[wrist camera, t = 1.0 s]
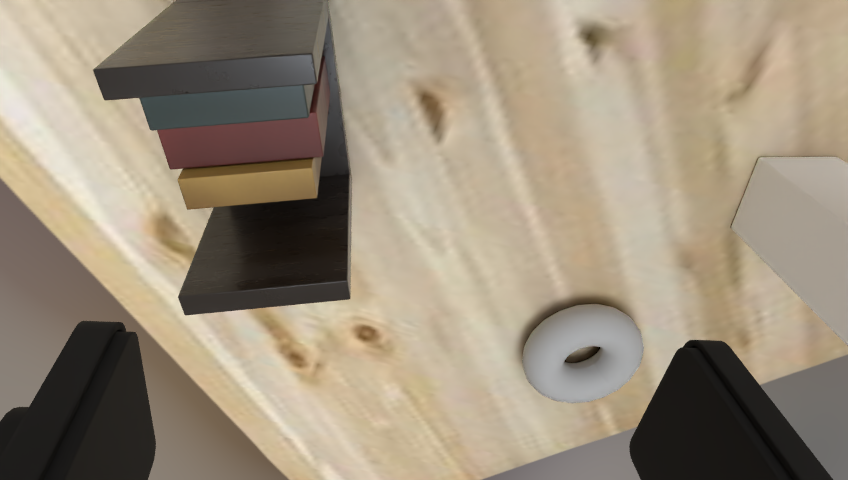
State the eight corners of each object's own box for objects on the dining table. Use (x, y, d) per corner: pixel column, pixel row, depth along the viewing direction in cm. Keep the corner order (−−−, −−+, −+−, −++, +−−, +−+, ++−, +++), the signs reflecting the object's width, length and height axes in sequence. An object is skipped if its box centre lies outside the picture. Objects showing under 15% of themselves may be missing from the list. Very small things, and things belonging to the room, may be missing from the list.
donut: (559, 279, 45) (496, 365, 49) (573, 307, 42) (505, 396, 47) (657, 314, 48) (589, 392, 53) (676, 343, 45) (602, 423, 50)
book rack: (177, -2, 31) (92, 69, 21) (326, -12, 31) (312, 53, 21) (230, 191, 38) (184, 316, 28) (352, 181, 38) (350, 299, 28)
